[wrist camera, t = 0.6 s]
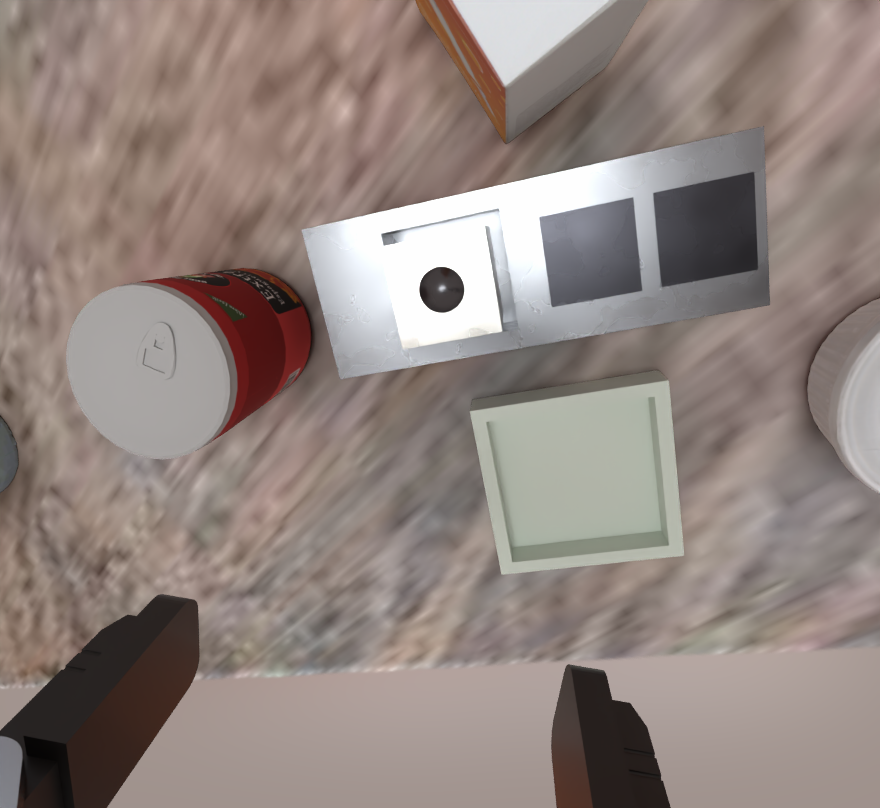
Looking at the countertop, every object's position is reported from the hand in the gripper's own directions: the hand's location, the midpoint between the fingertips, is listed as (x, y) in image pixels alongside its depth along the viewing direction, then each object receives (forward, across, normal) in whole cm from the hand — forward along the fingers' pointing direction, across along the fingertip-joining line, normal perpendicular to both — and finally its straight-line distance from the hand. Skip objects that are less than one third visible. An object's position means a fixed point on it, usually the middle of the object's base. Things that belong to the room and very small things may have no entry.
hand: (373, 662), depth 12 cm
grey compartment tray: (+23, -3, -8) cm, 24 cm away
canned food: (+23, +13, -1) cm, 27 cm away
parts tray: (+23, -8, +5) cm, 25 cm away
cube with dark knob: (+22, +1, -6) cm, 23 cm away
